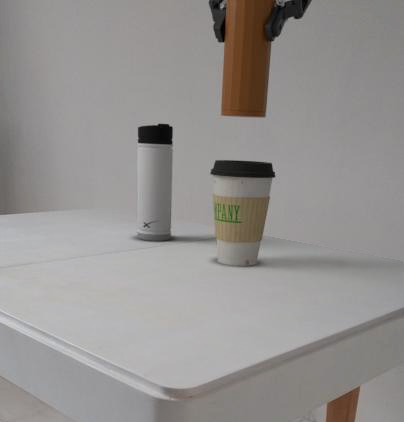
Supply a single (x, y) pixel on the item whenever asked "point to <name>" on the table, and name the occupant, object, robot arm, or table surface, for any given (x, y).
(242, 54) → the amber bottle
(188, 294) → the table surface
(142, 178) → the travel mug
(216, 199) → the coffee cup
